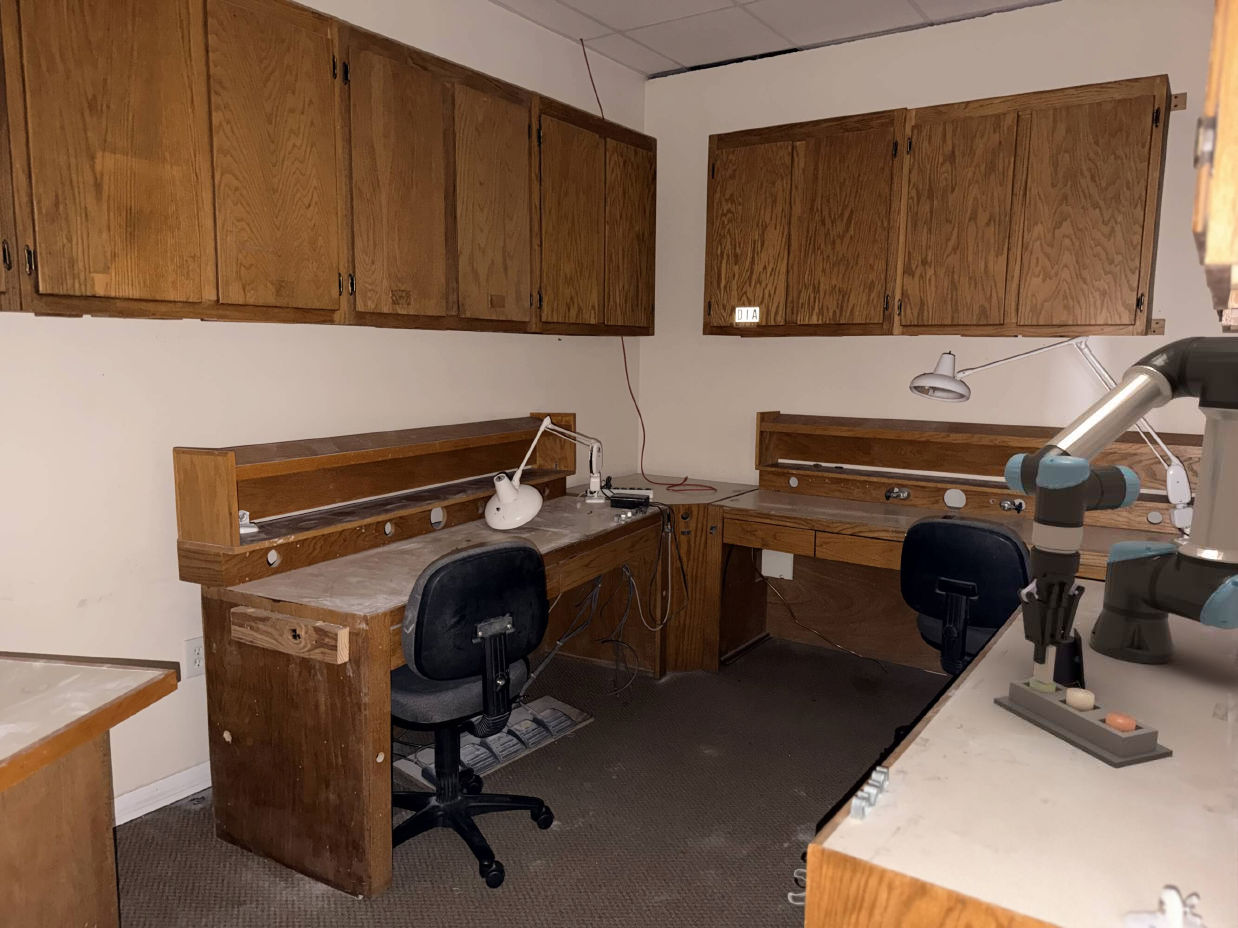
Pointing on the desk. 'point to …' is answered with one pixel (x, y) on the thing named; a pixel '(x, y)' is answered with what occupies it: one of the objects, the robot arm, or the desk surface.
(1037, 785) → the desk surface
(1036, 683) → the sage button
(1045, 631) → the robot arm
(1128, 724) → the terracotta button
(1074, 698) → the cream button
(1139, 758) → the control panel
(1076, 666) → the speaker
